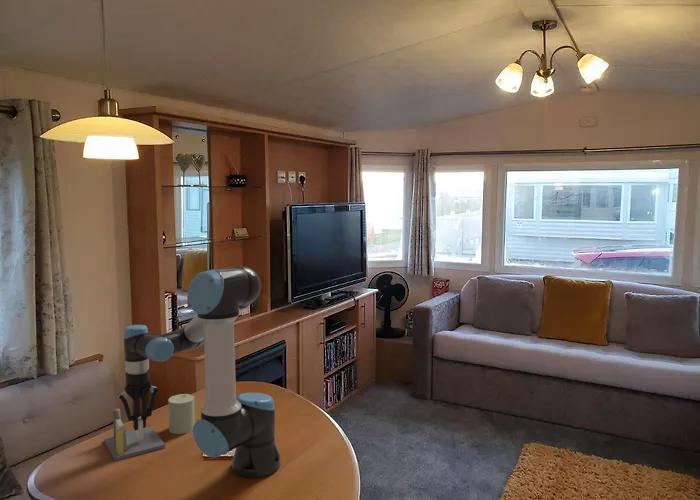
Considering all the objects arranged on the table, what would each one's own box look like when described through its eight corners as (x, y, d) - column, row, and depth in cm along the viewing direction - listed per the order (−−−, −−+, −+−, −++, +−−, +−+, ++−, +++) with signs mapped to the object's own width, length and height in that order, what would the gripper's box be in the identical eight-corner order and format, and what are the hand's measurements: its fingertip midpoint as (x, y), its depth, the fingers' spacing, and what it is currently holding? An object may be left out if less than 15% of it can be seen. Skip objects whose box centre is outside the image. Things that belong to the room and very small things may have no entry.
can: (199, 423, 201) (198, 393, 200) (189, 434, 192) (188, 402, 191) (175, 422, 202) (174, 392, 201) (164, 433, 193) (163, 401, 192)
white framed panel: (116, 438, 186) (115, 419, 185) (121, 437, 187) (120, 418, 186) (122, 450, 177) (121, 430, 177) (127, 449, 178) (126, 429, 177)
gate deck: (165, 447, 182) (164, 416, 181) (114, 461, 173) (113, 428, 172) (151, 429, 196) (150, 400, 195) (104, 440, 187) (102, 410, 186)
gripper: (154, 364, 188) (156, 429, 191) (114, 371, 181) (117, 438, 183) (160, 370, 182) (162, 436, 185) (119, 377, 175) (122, 447, 177)
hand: (140, 437), depth 184 cm, fingers closed
